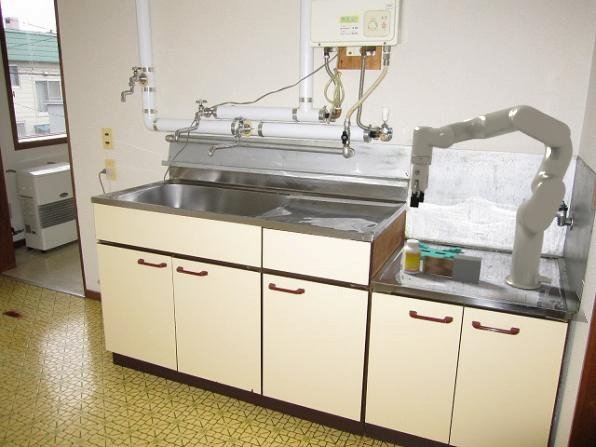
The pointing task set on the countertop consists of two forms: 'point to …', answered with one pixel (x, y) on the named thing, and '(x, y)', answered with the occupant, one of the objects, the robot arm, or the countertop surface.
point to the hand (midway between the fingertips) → (416, 204)
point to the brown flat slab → (437, 266)
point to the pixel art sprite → (438, 251)
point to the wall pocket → (466, 269)
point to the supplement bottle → (411, 257)
